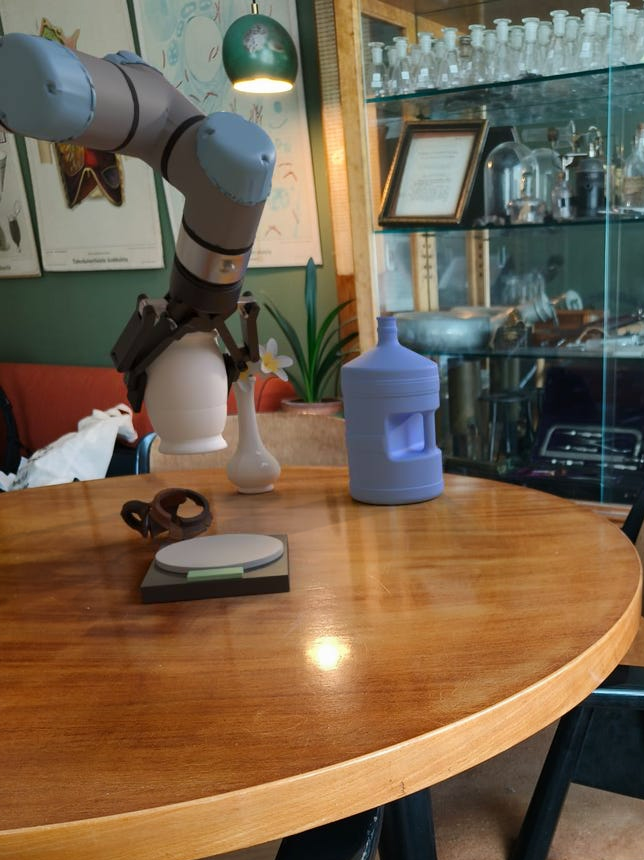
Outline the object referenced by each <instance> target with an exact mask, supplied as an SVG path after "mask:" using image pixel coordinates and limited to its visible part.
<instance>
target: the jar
mask: <svg viewBox="0 0 644 860" xmlns="http://www.w3.org/2000/svg"><path fill="white" fill-rule="evenodd" d="M175 326H176V327H177V325H175ZM218 337H220V335H219V333H218V331H217V330H216V329H214V330H212V332H195V333H187V334H185V335H184V336H183V337H182V338H181V339H180V340H179V341H176V340H175V341H173V342H172V343H171V344H170V345H169V346H168V347H167V348H166V349H165V350H164V351H163V352H162V353H161V354H160V355H159V356H158V357H157V358H156V359H155V360H154V361H153V362H152V363H151V364H150V365H149V366H148V367H147V368H146V369H145V372H146V374H147V376H148V377H147V382H146V387H145V393H144V398H143V404H144V406H145V409H146V414H147V417H148V420H149V422H150V425H151V427H152V429H153V430H154V432H155V434H156V435H157V436H158V437H159V439H160V443H159V445H158V446H157V452H158V453H160V454H162V455H168V456H192V455H193V456H194V455H204V454H209V453H210V454H211V453H217V452H219V451H223V450H225V449H226V448H227V447H228V443H227V441H226V439H224V438H223V432H224V430H225V426H226V423H227V417H228V404H227V402H228V399H227V375H226V368H225V363H224V359H223V356H222V354H223V352H222V350H221V347H220V344H219V343H218Z"/></svg>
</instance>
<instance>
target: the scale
mask: <svg viewBox="0 0 644 860" xmlns="http://www.w3.org/2000/svg"><path fill="white" fill-rule="evenodd" d="M139 591H140V595H141V603H142V604H143V605H148V604H160V603H171V602H172V603H173V602H182V601H193V600H194V601H195V600H206V599H216V598H217V599H218V598H229V597H239V596H250V595H251V596H253V595H263V594H274V593H275V594H276V593H285V592H286V593H287V592H291V578H290V546H289V537H288V533H283V534H269V535H268V534H267V535H264V534H263V535H262V534H256V533H227V534H226V533H225V534H213V535H206V536H199V537H194V538H192V539H189V540H185V541H181V542H173V543H166V542H162V543H160V545H159V548H158V550H157V552H156V553H155V555H154V557H153V560H152V561H151V564H150V565H149V568H148V570H147V572H146V574H145V576H144V578H143V580H142V582H141V584H140V586H139Z"/></svg>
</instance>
